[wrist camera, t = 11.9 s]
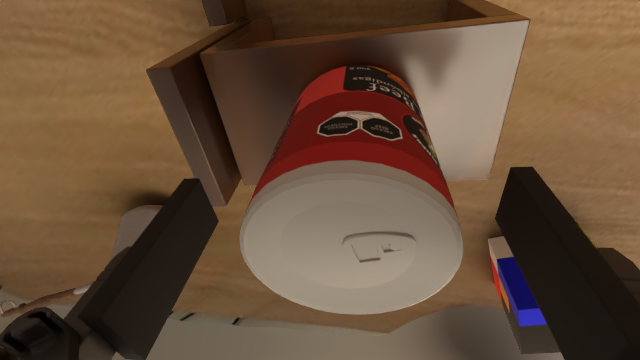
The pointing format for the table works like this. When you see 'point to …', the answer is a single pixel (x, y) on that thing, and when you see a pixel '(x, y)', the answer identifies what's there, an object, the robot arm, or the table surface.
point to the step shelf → (323, 56)
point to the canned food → (353, 200)
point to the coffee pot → (126, 236)
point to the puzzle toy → (520, 301)
